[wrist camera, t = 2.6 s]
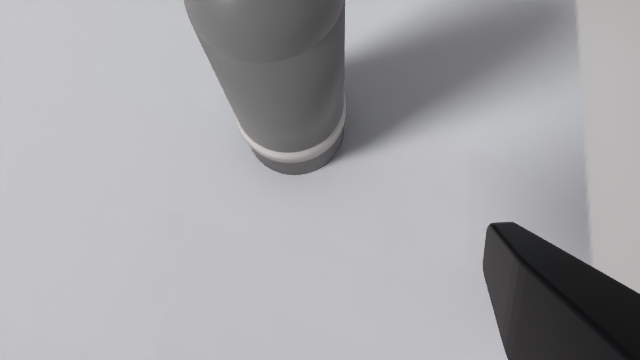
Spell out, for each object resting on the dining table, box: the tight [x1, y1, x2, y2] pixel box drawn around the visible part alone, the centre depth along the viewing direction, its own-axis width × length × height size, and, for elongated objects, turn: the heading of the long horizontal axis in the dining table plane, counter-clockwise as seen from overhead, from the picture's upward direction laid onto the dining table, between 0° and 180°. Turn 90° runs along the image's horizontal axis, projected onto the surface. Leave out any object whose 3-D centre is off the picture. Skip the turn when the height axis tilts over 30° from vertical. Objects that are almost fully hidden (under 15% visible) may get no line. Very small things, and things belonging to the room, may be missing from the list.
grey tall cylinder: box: [184, 0, 346, 175], centre depth 18 cm, size 5×5×12 cm
